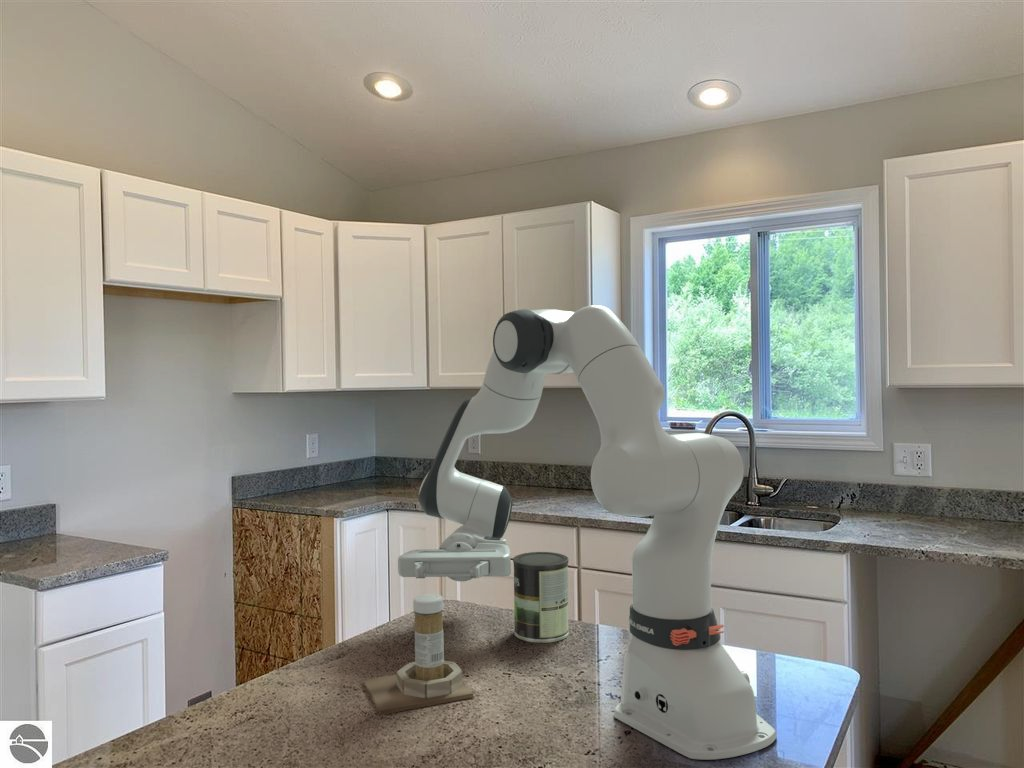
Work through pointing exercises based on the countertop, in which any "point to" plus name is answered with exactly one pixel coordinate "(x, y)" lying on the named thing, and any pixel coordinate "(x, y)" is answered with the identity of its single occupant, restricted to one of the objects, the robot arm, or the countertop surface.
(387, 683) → the socket board
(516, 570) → the coffee can
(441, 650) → the sprinkles bottle
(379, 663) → the countertop surface
